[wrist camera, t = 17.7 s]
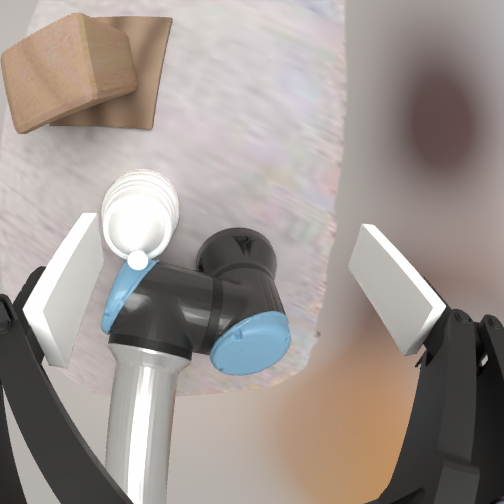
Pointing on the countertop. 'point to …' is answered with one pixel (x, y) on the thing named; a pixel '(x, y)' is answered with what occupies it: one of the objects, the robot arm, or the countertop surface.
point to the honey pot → (139, 216)
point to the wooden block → (66, 70)
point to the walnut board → (147, 74)
